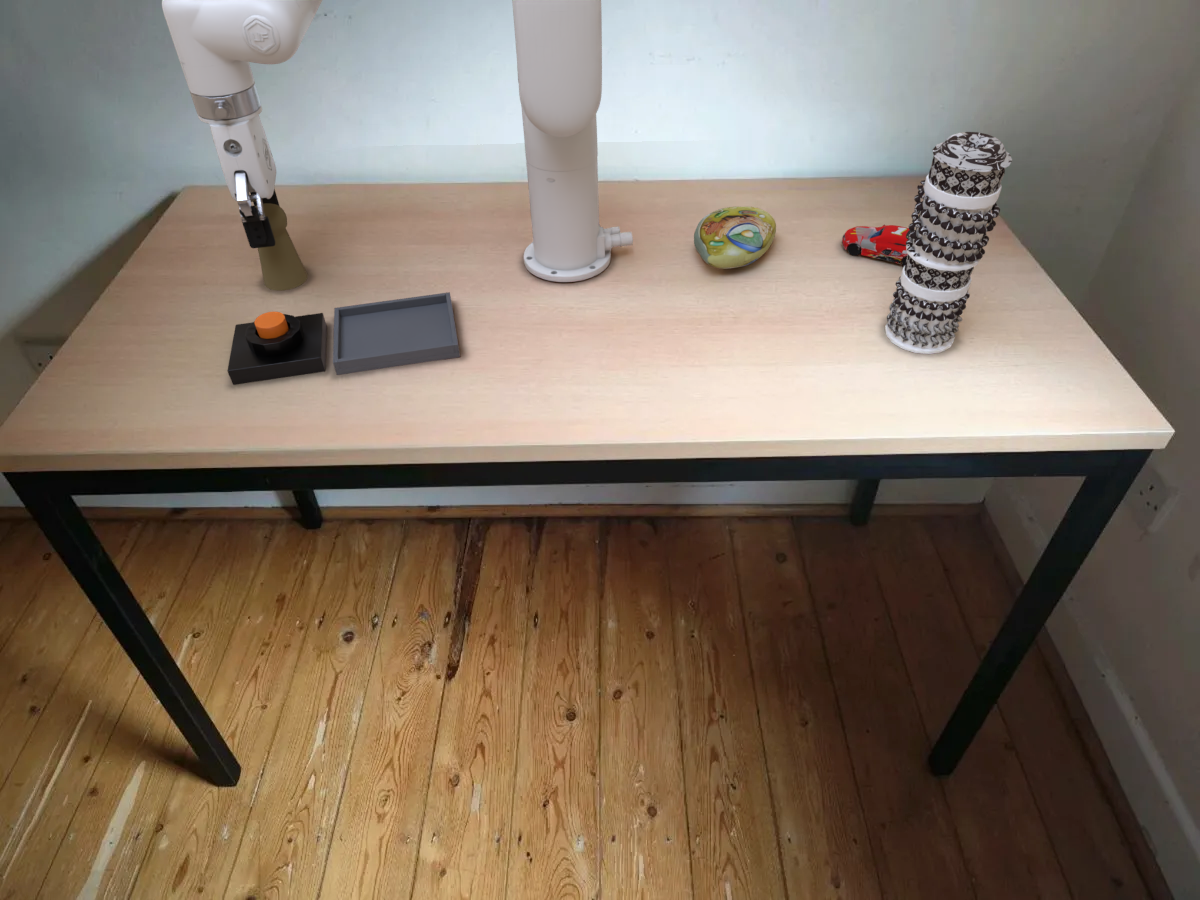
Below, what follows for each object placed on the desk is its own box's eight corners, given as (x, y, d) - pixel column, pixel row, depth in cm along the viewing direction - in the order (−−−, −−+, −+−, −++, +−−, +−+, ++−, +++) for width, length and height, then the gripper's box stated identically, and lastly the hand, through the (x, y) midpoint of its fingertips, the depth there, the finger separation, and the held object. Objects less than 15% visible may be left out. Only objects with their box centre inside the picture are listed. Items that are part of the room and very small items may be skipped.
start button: (289, 321, 105) (285, 309, 104) (287, 337, 102) (283, 325, 101) (259, 325, 104) (255, 313, 103) (257, 341, 102) (253, 329, 101)
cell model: (794, 223, 122) (759, 230, 110) (770, 271, 126) (734, 283, 114) (732, 190, 125) (692, 193, 113) (710, 238, 129) (669, 246, 117)
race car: (835, 252, 121) (840, 227, 118) (847, 236, 124) (852, 211, 121) (927, 274, 116) (934, 249, 113) (937, 256, 119) (944, 231, 116)
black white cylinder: (866, 324, 108) (911, 133, 90) (924, 307, 110) (979, 118, 93) (912, 363, 101) (970, 166, 84) (972, 344, 104) (1041, 149, 87)
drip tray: (451, 304, 113) (449, 291, 112) (460, 357, 104) (458, 344, 103) (337, 320, 111) (334, 307, 110) (336, 375, 102) (332, 362, 101)
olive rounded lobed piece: (295, 292, 116) (272, 220, 109) (256, 288, 117) (230, 217, 110) (315, 270, 121) (294, 199, 113) (276, 266, 122) (253, 196, 114)
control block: (327, 326, 110) (319, 300, 107) (325, 371, 103) (317, 345, 100) (240, 338, 109) (230, 312, 106) (233, 385, 101) (222, 358, 99)
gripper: (253, 125, 96) (291, 257, 108) (264, 74, 108) (297, 197, 120) (184, 131, 95) (230, 264, 107) (203, 78, 107) (243, 202, 119)
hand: (266, 228), depth 113 cm, fingers open, 9 cm apart
